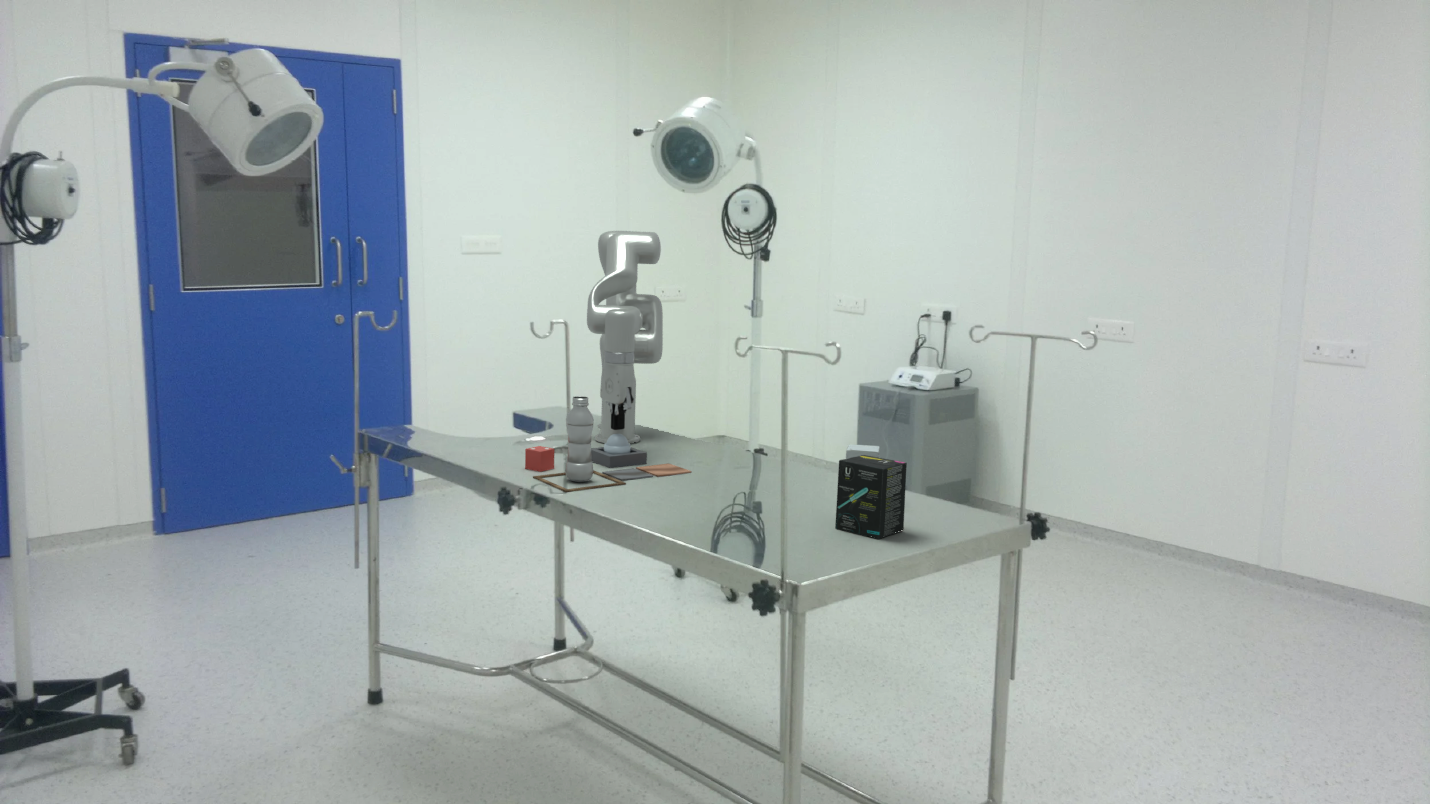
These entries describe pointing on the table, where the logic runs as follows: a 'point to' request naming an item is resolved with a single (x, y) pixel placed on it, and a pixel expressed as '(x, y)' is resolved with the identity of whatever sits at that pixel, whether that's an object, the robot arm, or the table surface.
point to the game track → (622, 475)
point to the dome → (617, 444)
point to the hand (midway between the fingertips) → (617, 428)
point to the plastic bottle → (579, 441)
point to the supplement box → (862, 450)
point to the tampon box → (871, 496)
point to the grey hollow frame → (618, 458)
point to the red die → (539, 458)
